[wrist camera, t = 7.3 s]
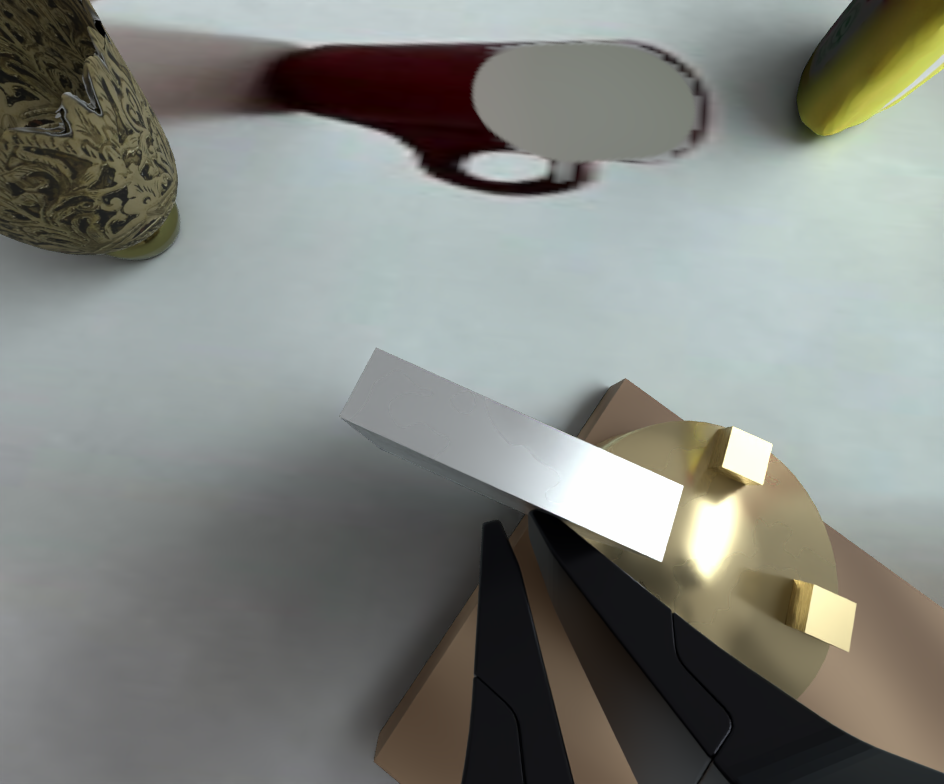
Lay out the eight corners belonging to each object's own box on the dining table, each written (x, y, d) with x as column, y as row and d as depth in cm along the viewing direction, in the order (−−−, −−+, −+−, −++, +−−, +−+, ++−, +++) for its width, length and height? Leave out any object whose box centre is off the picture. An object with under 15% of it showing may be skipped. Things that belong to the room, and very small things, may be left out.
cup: (244, 164, 19) (115, -59, 11) (222, 311, 17) (51, 167, 9) (69, 151, 18) (-199, -98, 10) (28, 303, 16) (-327, 141, 9)
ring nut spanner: (797, 486, 16) (1064, 486, 9) (744, 734, 14) (1046, 971, 7) (441, 326, 16) (449, 210, 9) (331, 548, 14) (237, 605, 7)
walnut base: (837, 1110, 13) (887, 1187, 12) (379, 733, 14) (373, 761, 13) (978, 655, 17) (1029, 671, 16) (610, 386, 18) (625, 378, 17)
